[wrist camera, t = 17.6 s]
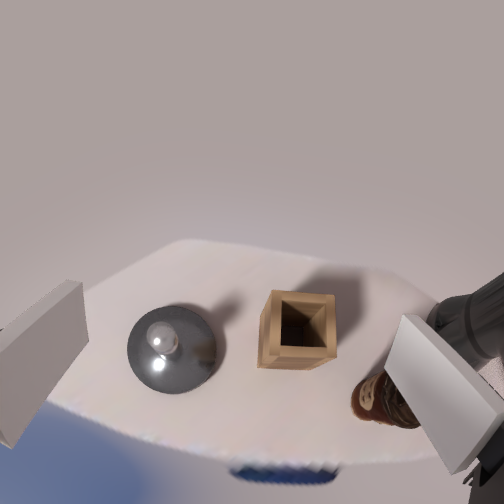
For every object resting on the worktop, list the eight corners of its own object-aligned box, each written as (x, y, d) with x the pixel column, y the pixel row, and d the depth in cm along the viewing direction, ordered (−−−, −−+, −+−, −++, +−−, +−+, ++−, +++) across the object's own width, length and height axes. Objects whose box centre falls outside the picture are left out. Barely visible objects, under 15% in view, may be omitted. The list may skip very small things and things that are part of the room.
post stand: (229, 378, 37) (232, 371, 30) (144, 403, 34) (125, 401, 26) (200, 299, 43) (196, 272, 35) (121, 322, 39) (100, 300, 32)
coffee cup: (330, 408, 36) (375, 404, 25) (360, 361, 40) (408, 340, 29) (374, 437, 34) (428, 439, 23) (401, 390, 38) (456, 377, 27)
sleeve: (310, 370, 39) (336, 357, 30) (257, 367, 39) (269, 354, 30) (310, 320, 43) (334, 294, 34) (260, 316, 42) (272, 289, 34)
